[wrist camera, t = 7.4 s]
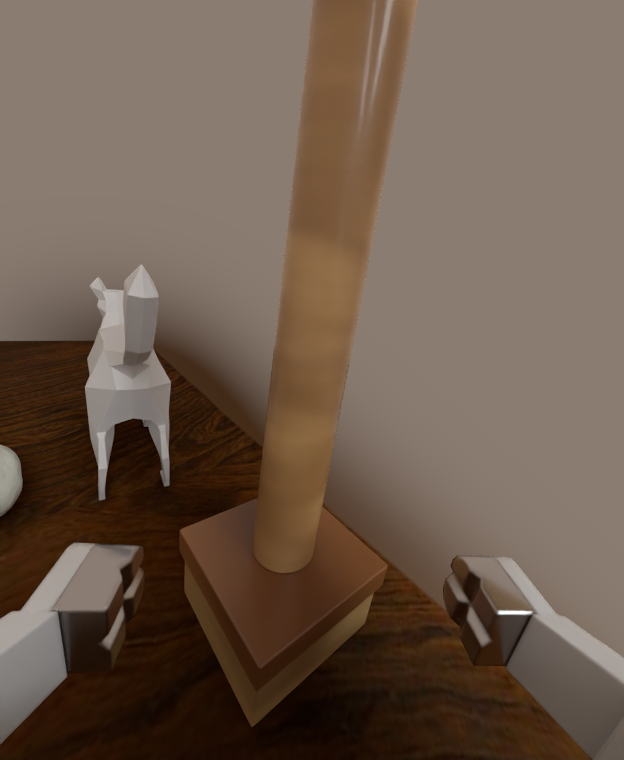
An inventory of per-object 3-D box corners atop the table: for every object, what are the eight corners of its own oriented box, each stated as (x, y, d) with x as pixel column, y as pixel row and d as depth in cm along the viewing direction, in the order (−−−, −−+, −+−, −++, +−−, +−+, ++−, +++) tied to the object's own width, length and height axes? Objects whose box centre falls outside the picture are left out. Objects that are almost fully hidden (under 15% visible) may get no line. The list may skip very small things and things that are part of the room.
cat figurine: (145, 401, 33) (143, 251, 28) (196, 552, 17) (208, 272, 13) (92, 405, 30) (79, 242, 26) (94, 585, 15) (64, 255, 10)
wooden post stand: (287, 532, 19) (394, -164, 10) (371, 624, 15) (680, -442, 6) (177, 590, 15) (197, -493, 6) (249, 740, 11) (666, -2196, 2)
